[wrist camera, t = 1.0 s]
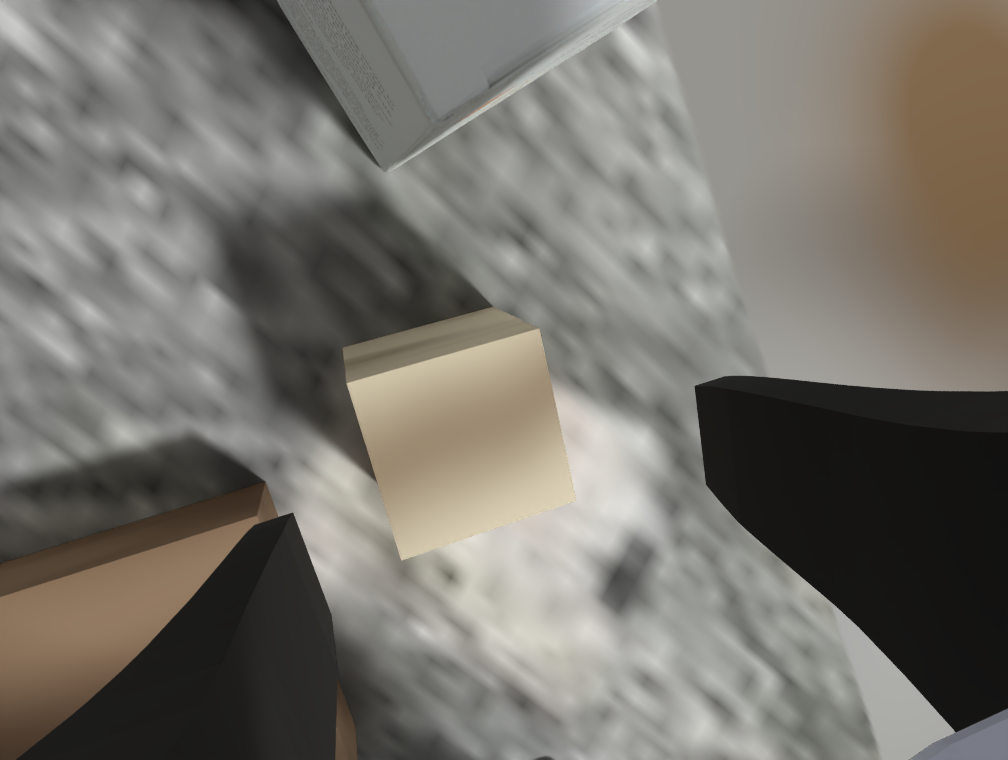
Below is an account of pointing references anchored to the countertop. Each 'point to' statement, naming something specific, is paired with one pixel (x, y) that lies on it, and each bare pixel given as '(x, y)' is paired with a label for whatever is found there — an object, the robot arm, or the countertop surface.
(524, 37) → the small box
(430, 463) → the maple cube
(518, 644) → the countertop surface
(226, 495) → the walnut block
